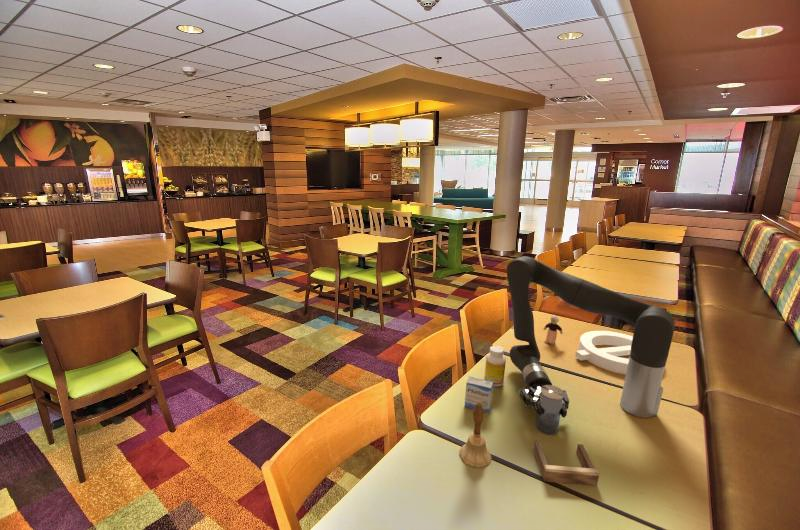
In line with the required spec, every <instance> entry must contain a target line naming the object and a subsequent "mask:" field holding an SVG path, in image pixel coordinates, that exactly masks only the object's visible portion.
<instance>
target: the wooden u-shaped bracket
mask: <svg viewBox="0 0 800 530" xmlns="http://www.w3.org/2000/svg"><path fill="white" fill-rule="evenodd" d="M533 453H534V455H535V459H536V462H537V464H538V468H539V470H540V473H541V477H542V480H543V482H549V483H557V484H559V483H560V484H571V485H581V486H582V485H583V486H595V487H596V486H597V487H598V481H599V477H600V471H599V469H598V468H595V465H594V464H593V461H592V459H591V458H590V456H589V453H588V452H587V450H586V448H585V446H584V444H583V443H580V444H579V443H577V448H576V452H575V453H576V456H577V458H578V460H579V462H580V464H581V465H582V467H578V466H576V467H574V466H563V465H553V464H552V465H551V464H548V461H547V458H546V455H545V453H544V449H543V448H542V444H541V443H540V440H534V441H533Z"/></svg>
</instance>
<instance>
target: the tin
mask: <svg viewBox="0 0 800 530" xmlns="http://www.w3.org/2000/svg"><path fill="white" fill-rule="evenodd" d="M552 385H553V384H552ZM552 385H544V386H542V387H541V390H540V392H541V393H540V400H539V405H540V406H541V409H542V414H541V416H538V414H536V424H535V426H536V427H535V428H536V429H537V430H538V431H539V432H540V433H542V434H545V435H548V436H553V435H556V434H557V433H558V431H559V426H560V421H561V408H562V402H563V397H564V392H563V391H562V389H561V388H559V387H558V386H556V385H553V386H552Z"/></svg>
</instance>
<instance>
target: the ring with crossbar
mask: <svg viewBox="0 0 800 530" xmlns="http://www.w3.org/2000/svg"><path fill="white" fill-rule="evenodd" d="M632 339H633V335H629V334H625V333H621V332H616V331H609V330H591V331H587V332H583V334H581V335H580V337H579V343H578V350H576V351H575V354H574V357H575V358H577V359H578V360H579V361H588V362H589V363H591V364H593V365H594V366H597V367H599V368H601V369H603V370H607V371H609V372H612V373H616V374H620V375H625V376H626V372H627V367H628V362H629V358H626V357H625V356H630V352H631V344H632ZM599 345H603V346H604V345H605V346H611V347H601V348H598V347H596V346H599ZM623 356H624V357H623Z"/></svg>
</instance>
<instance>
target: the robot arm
mask: <svg viewBox="0 0 800 530" xmlns="http://www.w3.org/2000/svg"><path fill="white" fill-rule="evenodd" d="M506 278H507V283H508V286H509V291H510V292H509V293H510V297H511V304H512V315H513V335H514V338H515V339H516V340H518V341H521V342H527V344H519V345H517V344H516V345H513V346H512V347H511V348H510V350H509V358H510V361H511V363H512V364H513V365H514V366H515V367H516V368H517V369H518V370H519V371H520V372H521V374H522V378H523V382H524V384H525V386H526V388H527V389H526V388H524V387H523V386H522V387H520V389H519V397H520V399H521V400H522V402H523V403H524V405H525V406H526V407H530V406H531V407H532V408H533V410H534V413H535V414H536V415H537V414H538V416H541V414H542V409H541V406H540V405H539V400H540V393H541V392H540V390H541V387H542V386H544V385H552V386H554V385H553V383H552V381H551V379H550V377H549V375H548V373H547V372H546V370H545V369H544V367H543V366H542V364H541V362H540V360H541V352H540V349H539V347H538V344H537V341H536V335H535V318H534V312H533V309H532V306H531V302H530V296H529V290H530V289H529V288H530V283H532V284H536V285H539V286H542V287H544V288H546V289H548V290H549V291H551V292H552V293H554V295H556V296H557V297H558V298H560V299H561V300H562V301H564V302H565V303H567V304H569V305H571V306H573V307H576V308H578V309H580V310H583V311H585V312H588V313H592V314H596V315H604V316H608V317H614V318H618V319H620V320H623V321H625V322H628V323H630V324H632V325H634V330H633V335H632V336H633V339H632V344H631V352H630V355H629V357H628V359H629V362H628V367H627V372H626V375H625V377H624V381H623V387H622V392H621V395H620V396H621V397H620V400H619V405H620V407H621V408H622V409H623V410H624V411H625V412H627V413H628V414H630V415H633V416H634V417H637V418H644V419H645V418H647V419H649V418H652V417H653V416H658V413H659V408H660V405H661V401H662V397H663V392H664V387H663V386H662V381H663V378H664V373H665V369H666V365H667V361H668V358H669V353H670V349H671V346H672V341H673V337H674V333H675V332H674V331H675V326H676V320H675V318H674V316H673V315H672V313H670V312H669V311H668V310H666V308H662V307H660V306H656V305H652V304H650V303H645V302H642V301H639V300H636V299H632V298H629V297H627V296H624V295H622V294H620V293H618V292H616V291H613V290H611V289H608V288H605V287H603V286H601V285H599V284H596V283H594V282H592V281H588V280H586V279H583V278H581V277H578V276H575V275H572V274H569V273H566V272H564V271H561V270H557V269H556V268H552V267H551V266H549V265H547V264H544V263H543V262H541V261H539V260H537V259H535V258H533V257H530V256H524V255H523V256H519V257H516V258H514V259H513V260H510V261H509V263H508V264H507V266H506ZM561 390H562V389H561ZM562 391H563V392H564V397H563V402H562V408H561V415H560V417H562V418H566V416H567V414H568V409H569V407H570V405H569V404H570V398H569V395H568V393H567V390H564V389H563V390H562ZM531 397H532V398H531Z"/></svg>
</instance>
